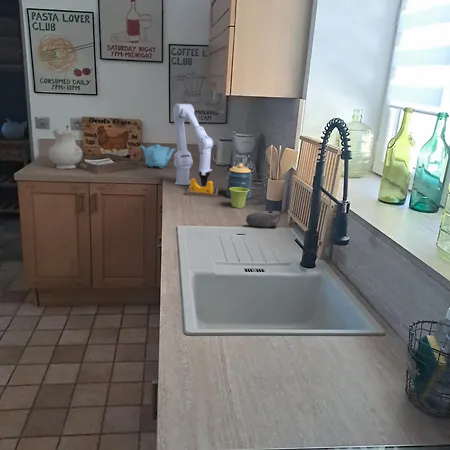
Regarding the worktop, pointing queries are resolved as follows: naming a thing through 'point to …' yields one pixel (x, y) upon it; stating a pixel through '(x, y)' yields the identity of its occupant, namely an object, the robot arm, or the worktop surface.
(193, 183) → the pipe clamp
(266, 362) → the worktop surface
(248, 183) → the canister
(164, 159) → the teakettle
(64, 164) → the ceramic pitcher
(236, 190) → the plant pot
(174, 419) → the worktop surface
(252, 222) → the perforated stone tool
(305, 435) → the worktop surface
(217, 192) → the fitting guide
